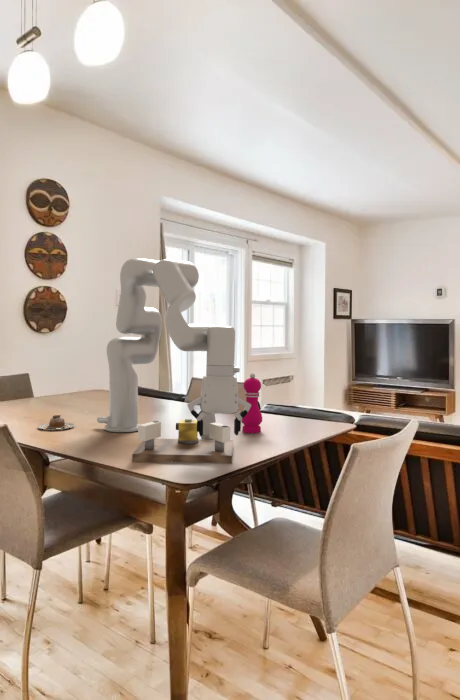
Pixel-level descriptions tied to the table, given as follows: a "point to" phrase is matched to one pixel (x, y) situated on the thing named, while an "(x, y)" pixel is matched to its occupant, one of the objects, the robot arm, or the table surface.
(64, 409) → the table surface
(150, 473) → the table surface
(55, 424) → the pastry
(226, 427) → the knob right
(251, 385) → the pepper mill
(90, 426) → the table surface
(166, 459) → the level base
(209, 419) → the salt shaker
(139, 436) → the knob left
